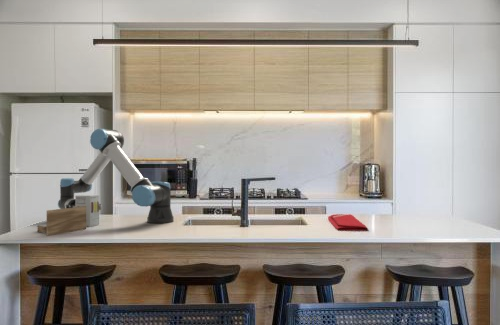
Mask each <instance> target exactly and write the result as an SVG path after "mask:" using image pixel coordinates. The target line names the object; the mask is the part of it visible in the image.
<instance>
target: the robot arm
mask: <svg viewBox="0 0 500 325" xmlns="http://www.w3.org/2000/svg"><path fill="white" fill-rule="evenodd" d="M89 143H90V145H91V147H92V148H93V149H95V150H99V151H100V152H99V153H98V155H97V156H96V157H95V159H94V160H93V161H92V162H91V164H90V165H89V167H88V168H87V169H86V171H85V172H84V173H83V175H81V177H80V178H79V179H78V180H75V179H74V178H73V177H64V178H61V179H60V184H59V188H60V191H59V193H60V195H59V196H60V198H59V200H58V201H57V207H58V208H59V209H64V208H73V207H76V206H75V194H79V193H81V194H82V193H84V194H85V193H87V192H90V191H91V190H92V189H93V183H94V182H95V180H96V179H97V178H98V177H99V176H100V174H101V173H102V172H103V170H104V169H105V168H106V166H107V165H108V164H109V163H110V162H111V163H112V164H113V166H115V168H116V169H117V170H118V172H119V173H120V174H121V176H122V178H124V180H125V181H126V182H127V184H128V185H129V186H130V192H131V198H132V201H133V202H134V204H136V205H137V206H139V207H145V208H146V207H150V208H149V212H148V216H147V217H146V218H147V220H146V222H147V223H149V224H164V223H166V224H167V223H173V222H174V216H173V212H172V208H171V206H172V205H171V204H172V203H171V197H172V196H171V195H172V194H171V193H172V192H171V190H172V189H171V183H170V182H166V181H150V179H149V178H148V177H144V176H143V175H142V173H141V172H140V170H139V169H138V168H137V167H136V166H135V164H134V163H133V162H132V161H131V159H130V158H129V157H128V156H127V154H126V153H125V151H124V150H123V147H124V145H125V138H124V136H123V133H121V132H120V131H118V130H116V129H109V128H108V129H107V128H97V129H94V130H93V132H92V133H91V134H90V139H89ZM99 211H103V204H101V203H99Z"/></svg>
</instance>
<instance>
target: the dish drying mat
mask: <svg viewBox="0 0 500 325" xmlns="http://www.w3.org/2000/svg"><path fill="white" fill-rule="evenodd" d="M327 220H328V221H329V222H330V223H331V225H332V226H333V228H334V229H335V230H337V231H340V232H341V231H343V232H346V231H347V232H349V231H351V232H359V231H360V232H367V231H369V228H368V227H367V226H366V225H365V224H364V223H363V222H361V221H360V220H359V219H357V218H356V217H355V216H354V215H353V214H350V213H349V214H347V213H346V214H343V213H341V214H340V213H337V214H331V215H329V216H328V217H327Z"/></svg>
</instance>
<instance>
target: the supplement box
mask: <svg viewBox="0 0 500 325" xmlns="http://www.w3.org/2000/svg"><path fill="white" fill-rule="evenodd" d="M74 199H75V206H76V207H82V206H86V228H87V227H88V228H90V227H91V228H92V227H94V226H98V225H99V226H100V210H99V204H100V194H85V193H84V194H79V195H74Z"/></svg>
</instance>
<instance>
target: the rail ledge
mask: <svg viewBox="0 0 500 325" xmlns="http://www.w3.org/2000/svg"><path fill="white" fill-rule="evenodd" d="M84 230H87V227H86V206H82V207H73V208H64V209H60V208H59V209H50V210H49V209H47V210H46V225H37V232H38V233H43V232H45V233H44V234H46V236H47V237H49V236H54V235H60V234H61V235H62V234H66V233H67V234H68V233H72V232H77V231H84Z"/></svg>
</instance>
